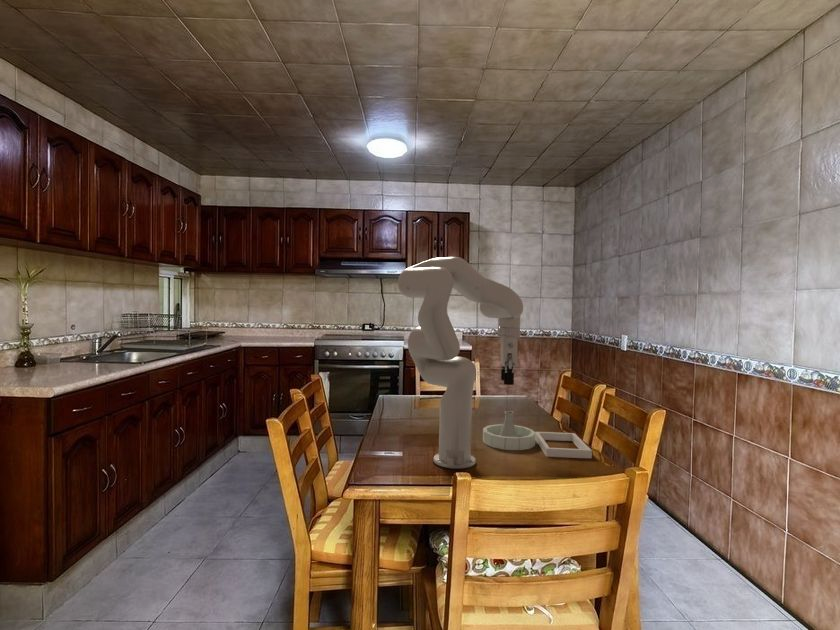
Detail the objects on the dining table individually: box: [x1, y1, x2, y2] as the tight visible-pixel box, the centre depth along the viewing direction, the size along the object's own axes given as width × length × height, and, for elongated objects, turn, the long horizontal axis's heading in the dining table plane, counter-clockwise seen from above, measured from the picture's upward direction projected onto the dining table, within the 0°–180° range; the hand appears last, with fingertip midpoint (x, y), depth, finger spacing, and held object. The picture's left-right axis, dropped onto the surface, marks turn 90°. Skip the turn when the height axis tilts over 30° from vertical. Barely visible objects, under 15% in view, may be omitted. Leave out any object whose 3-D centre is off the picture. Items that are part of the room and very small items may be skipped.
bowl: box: [482, 423, 536, 451], centre depth 161 cm, size 17×17×4 cm
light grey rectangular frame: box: [534, 431, 593, 459], centre depth 156 cm, size 20×14×2 cm
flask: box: [499, 410, 518, 437], centre depth 161 cm, size 7×7×10 cm
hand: (507, 382), depth 161 cm, fingers open, 9 cm apart
